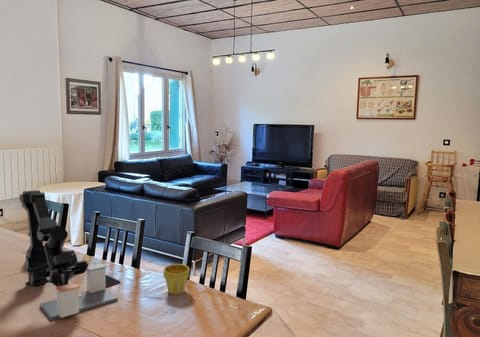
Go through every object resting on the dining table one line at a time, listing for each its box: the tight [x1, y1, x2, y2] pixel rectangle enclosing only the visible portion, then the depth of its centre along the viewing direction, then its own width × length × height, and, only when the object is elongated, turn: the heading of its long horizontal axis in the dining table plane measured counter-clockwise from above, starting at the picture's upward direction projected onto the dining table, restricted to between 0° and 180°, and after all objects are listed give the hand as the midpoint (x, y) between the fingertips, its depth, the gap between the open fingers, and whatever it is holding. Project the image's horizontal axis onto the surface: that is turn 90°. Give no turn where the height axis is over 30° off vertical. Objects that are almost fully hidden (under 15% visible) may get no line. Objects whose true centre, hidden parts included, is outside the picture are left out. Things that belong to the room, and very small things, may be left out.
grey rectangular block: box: [86, 263, 107, 293], centre depth 150 cm, size 4×6×10 cm
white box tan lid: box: [55, 282, 81, 319], centre depth 131 cm, size 4×6×10 cm
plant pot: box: [163, 263, 190, 295], centre depth 155 cm, size 10×10×10 cm
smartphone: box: [105, 274, 121, 289], centre depth 164 cm, size 7×1×15 cm
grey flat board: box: [39, 288, 119, 321], centre depth 142 cm, size 13×24×2 cm, turn 133°
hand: (65, 293), depth 133 cm, fingers closed, pressing on white box tan lid
